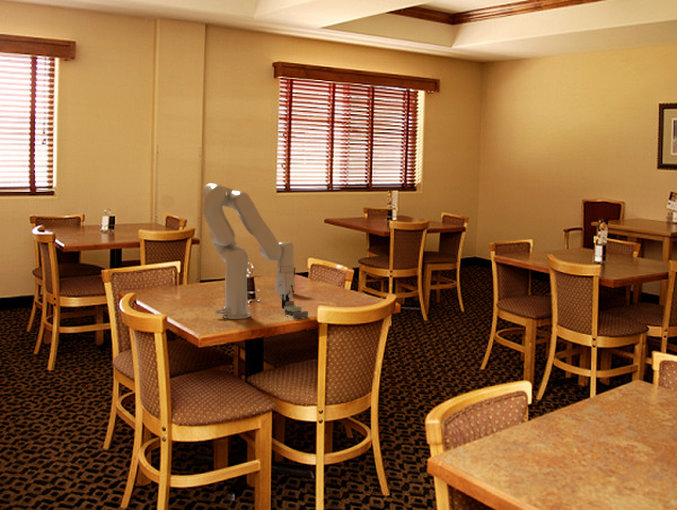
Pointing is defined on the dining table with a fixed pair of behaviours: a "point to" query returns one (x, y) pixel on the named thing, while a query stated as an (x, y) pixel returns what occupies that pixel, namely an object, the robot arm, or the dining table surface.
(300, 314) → the dock
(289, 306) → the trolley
